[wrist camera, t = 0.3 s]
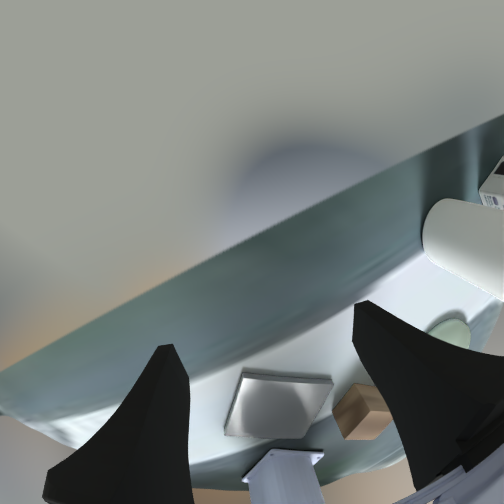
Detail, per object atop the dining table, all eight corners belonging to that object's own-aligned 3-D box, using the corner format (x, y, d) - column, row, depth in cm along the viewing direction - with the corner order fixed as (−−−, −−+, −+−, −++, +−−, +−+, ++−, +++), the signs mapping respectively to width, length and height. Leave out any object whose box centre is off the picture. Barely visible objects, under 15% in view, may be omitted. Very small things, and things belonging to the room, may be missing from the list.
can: (445, 273, 23) (531, 324, 12) (409, 247, 22) (511, 301, 11) (470, 217, 22) (560, 247, 11) (436, 184, 21) (544, 205, 9)
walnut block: (359, 413, 28) (374, 439, 23) (331, 411, 27) (344, 439, 22) (381, 387, 27) (399, 412, 22) (353, 382, 26) (370, 410, 21)
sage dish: (434, 388, 29) (438, 393, 27) (390, 383, 27) (394, 389, 25) (474, 327, 27) (480, 331, 25) (438, 309, 24) (445, 314, 23)
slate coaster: (300, 433, 27) (302, 438, 26) (224, 430, 26) (224, 435, 25) (331, 379, 25) (333, 384, 24) (242, 372, 24) (243, 377, 23)
